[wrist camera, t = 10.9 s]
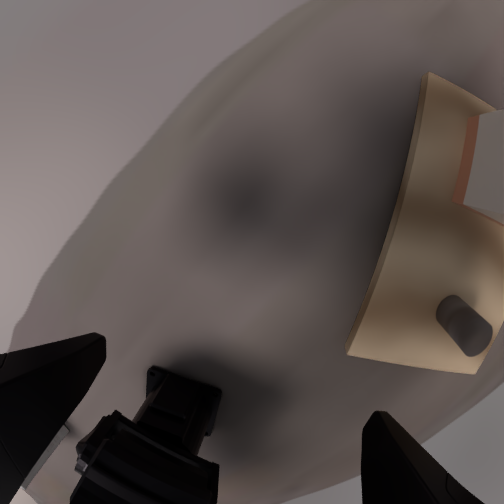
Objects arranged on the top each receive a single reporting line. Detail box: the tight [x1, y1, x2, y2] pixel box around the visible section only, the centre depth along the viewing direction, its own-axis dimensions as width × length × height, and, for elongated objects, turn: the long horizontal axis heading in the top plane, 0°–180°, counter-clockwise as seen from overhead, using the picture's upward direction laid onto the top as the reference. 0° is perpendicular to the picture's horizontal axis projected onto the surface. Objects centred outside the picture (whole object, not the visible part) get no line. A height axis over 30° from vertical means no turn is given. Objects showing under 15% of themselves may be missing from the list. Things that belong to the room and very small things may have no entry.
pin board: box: [345, 72, 504, 374], centre depth 15 cm, size 20×13×6 cm, turn 166°
